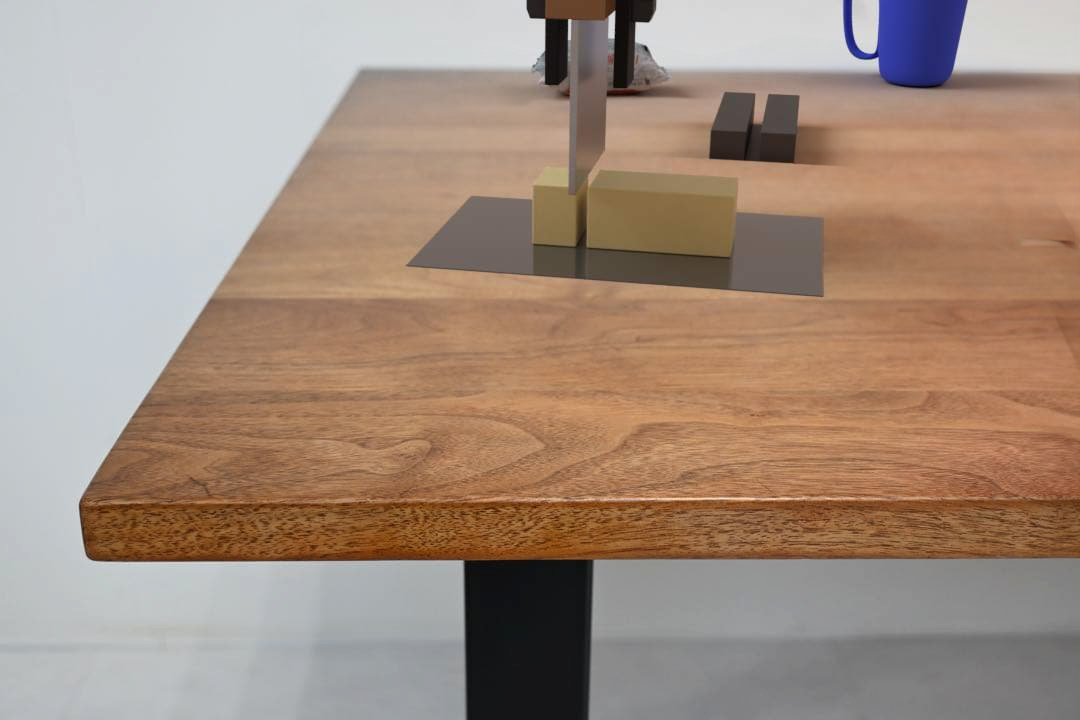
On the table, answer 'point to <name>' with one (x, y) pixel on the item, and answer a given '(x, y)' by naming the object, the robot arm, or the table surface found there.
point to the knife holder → (755, 129)
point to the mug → (913, 39)
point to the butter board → (630, 252)
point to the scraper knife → (585, 81)
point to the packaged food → (644, 69)
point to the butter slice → (558, 209)
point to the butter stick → (662, 213)
